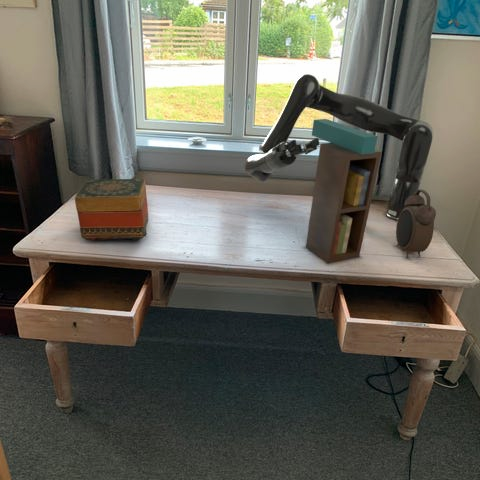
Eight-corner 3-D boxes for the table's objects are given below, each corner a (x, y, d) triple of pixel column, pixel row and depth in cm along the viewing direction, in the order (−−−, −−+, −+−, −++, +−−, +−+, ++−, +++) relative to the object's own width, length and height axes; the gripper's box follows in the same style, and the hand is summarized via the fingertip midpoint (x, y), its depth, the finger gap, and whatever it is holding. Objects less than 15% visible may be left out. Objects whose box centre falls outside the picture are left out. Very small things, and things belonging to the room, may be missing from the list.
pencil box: (311, 135, 142) (313, 119, 140) (323, 134, 144) (326, 118, 142) (361, 154, 127) (364, 137, 124) (374, 153, 129) (377, 136, 126)
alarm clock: (388, 242, 159) (403, 183, 148) (409, 243, 160) (425, 183, 149) (404, 262, 147) (421, 199, 136) (426, 263, 148) (445, 200, 137)
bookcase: (305, 247, 152) (320, 143, 135) (335, 241, 157) (353, 140, 140) (328, 263, 144) (347, 154, 126) (359, 257, 149) (381, 151, 131)
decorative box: (142, 252, 145) (145, 198, 137) (69, 241, 144) (67, 187, 135) (154, 228, 163) (157, 180, 154) (88, 219, 161) (88, 169, 153)
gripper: (260, 147, 161) (285, 131, 146) (295, 144, 167) (323, 128, 152) (264, 169, 162) (289, 156, 147) (299, 166, 168) (327, 152, 153)
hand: (306, 142), depth 150 cm, fingers open, 8 cm apart
